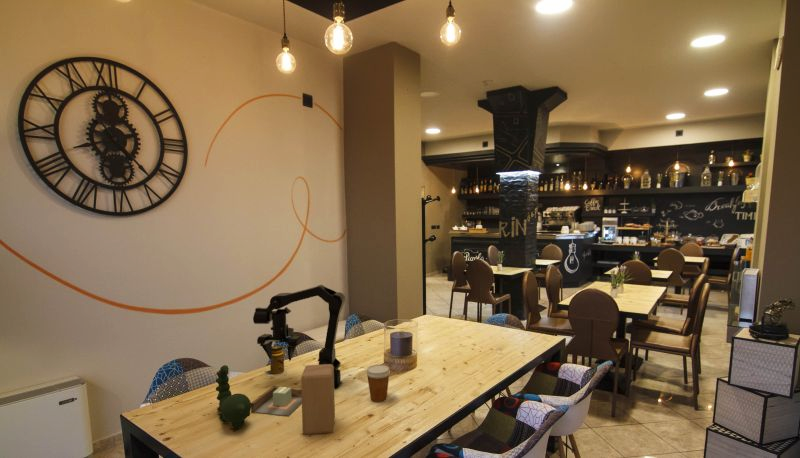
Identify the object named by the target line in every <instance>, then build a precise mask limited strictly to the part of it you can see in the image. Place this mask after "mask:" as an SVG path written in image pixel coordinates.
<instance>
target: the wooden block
mask: <svg viewBox="0 0 800 458" xmlns="http://www.w3.org/2000/svg"><path fill="white" fill-rule="evenodd" d="M300 382H301V385H300V388H301V392H302V404H301V419H302V420H301V421H302V424H301V425H302V426H301V427H302V433H303V434H304V435H309V434H310V435H314V434H327V433H328V434H329V433H332V432H333V431H334V426H335V420H336V419H335V418H336V412H335V411H336V406H335V404H336V403H335V389H334V366H333V365H332V364H323V365H319V364H309V365H305V366H304V370H303V372H302V374H301V376H300Z"/></svg>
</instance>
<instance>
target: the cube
mask: <svg viewBox="0 0 800 458" xmlns="http://www.w3.org/2000/svg"><path fill="white" fill-rule="evenodd" d="M286 387H287V386H280V387H279V388H278V389H277V390H275V391H274V392H273V406H283V407H285V406H286V405H288V404H289V403H290V402H291V401H292V393H291V388H292V387H290V388H286Z"/></svg>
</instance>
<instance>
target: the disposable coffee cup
mask: <svg viewBox="0 0 800 458" xmlns="http://www.w3.org/2000/svg"><path fill="white" fill-rule="evenodd" d="M390 373H391V370H390V367H389V366H388V365H386V364H374V365H370V366H368V367H367V369H366V371H365V374H366V376H367V382H368V390H369V396H370V401H371V402H373V403H382V402H386V401H387V399H388V389H389V388H388V387H389V377H390Z"/></svg>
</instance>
